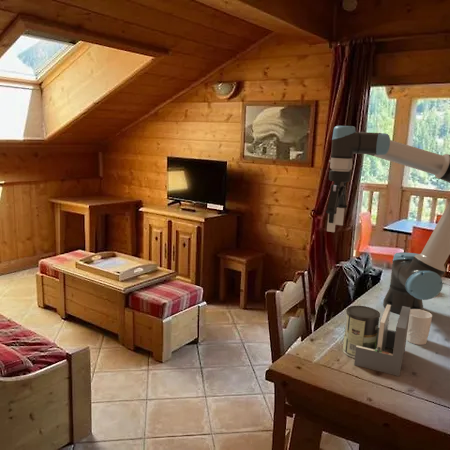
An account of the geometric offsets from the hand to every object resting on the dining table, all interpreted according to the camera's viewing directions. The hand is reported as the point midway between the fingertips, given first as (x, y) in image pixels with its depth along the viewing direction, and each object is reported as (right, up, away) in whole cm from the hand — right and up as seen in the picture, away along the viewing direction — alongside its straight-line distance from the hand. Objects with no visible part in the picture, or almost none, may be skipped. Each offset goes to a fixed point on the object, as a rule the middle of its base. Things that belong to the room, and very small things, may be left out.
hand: (335, 228), depth 167 cm
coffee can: (+3, -40, -20) cm, 45 cm away
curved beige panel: (+8, -40, -24) cm, 47 cm away
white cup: (+26, -39, -10) cm, 48 cm away
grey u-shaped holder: (+8, -41, -22) cm, 47 cm away
